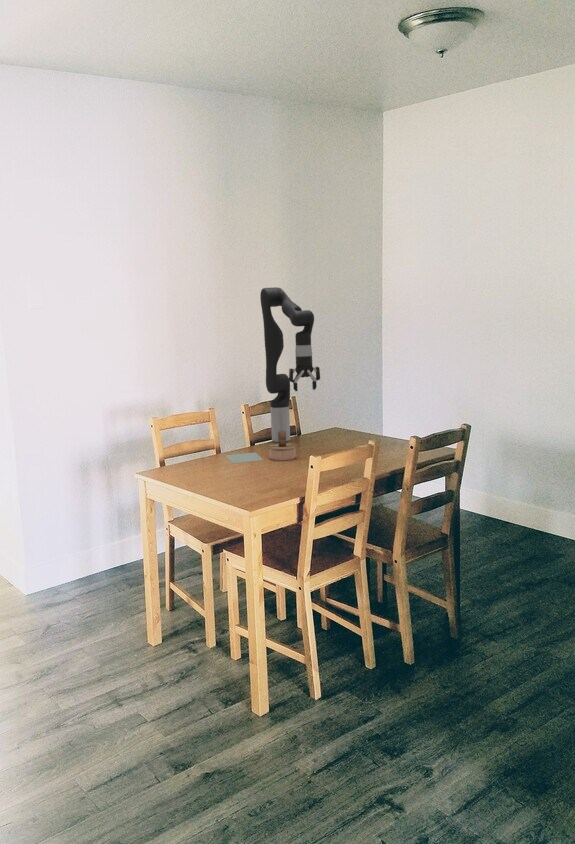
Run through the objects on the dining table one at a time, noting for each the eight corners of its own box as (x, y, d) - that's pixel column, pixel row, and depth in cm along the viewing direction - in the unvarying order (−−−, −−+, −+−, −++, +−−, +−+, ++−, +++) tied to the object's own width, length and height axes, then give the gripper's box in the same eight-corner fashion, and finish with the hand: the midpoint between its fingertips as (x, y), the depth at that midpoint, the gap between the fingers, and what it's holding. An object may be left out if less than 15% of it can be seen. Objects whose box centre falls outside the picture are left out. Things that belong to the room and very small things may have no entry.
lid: (266, 446, 319) (265, 430, 318) (291, 443, 322) (291, 428, 321) (272, 451, 308) (272, 435, 307) (299, 449, 311) (298, 433, 310)
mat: (225, 456, 324) (225, 455, 324) (255, 453, 328) (255, 452, 328) (232, 464, 309) (232, 463, 309) (263, 461, 313) (263, 459, 313)
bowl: (267, 457, 320) (267, 446, 319) (291, 454, 323) (291, 444, 322) (273, 462, 309) (273, 451, 308) (298, 460, 312) (298, 449, 311)
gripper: (316, 353, 329) (317, 388, 332) (286, 355, 325) (287, 390, 328) (321, 354, 322) (322, 390, 325) (291, 356, 318) (292, 392, 321)
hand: (305, 390), depth 326 cm, fingers open, 8 cm apart
